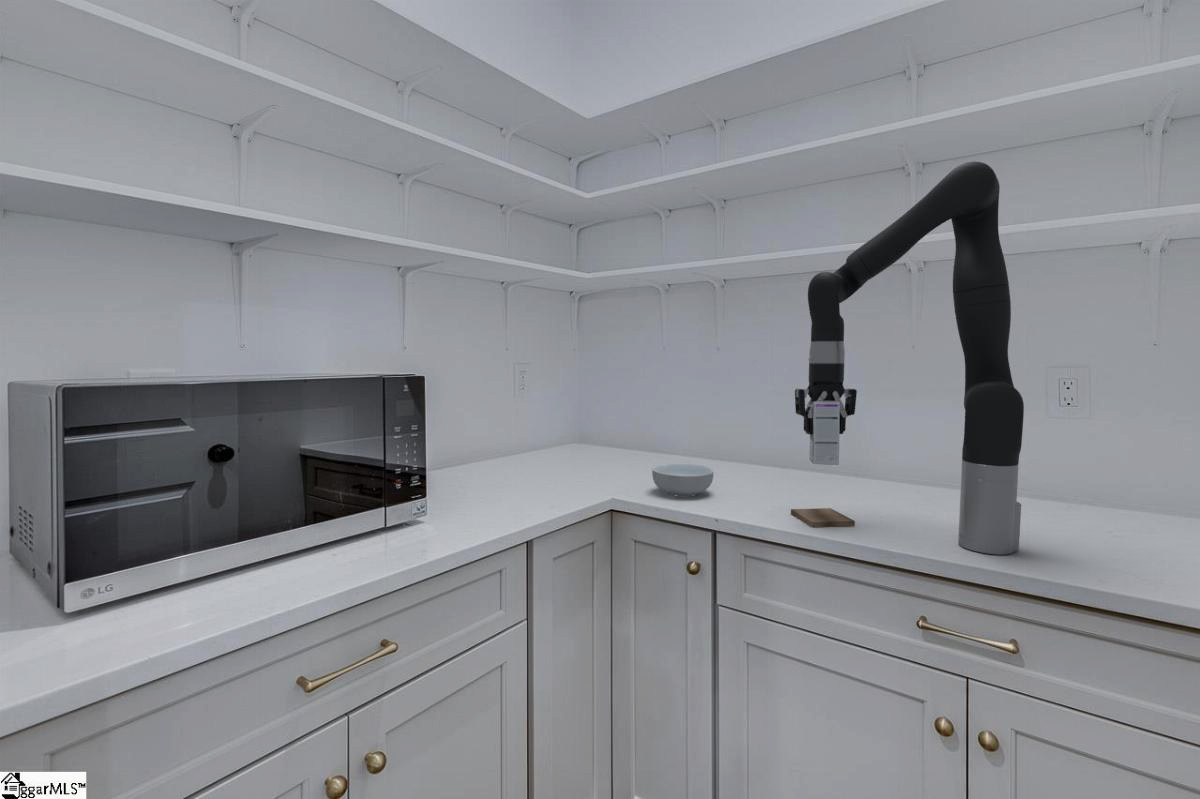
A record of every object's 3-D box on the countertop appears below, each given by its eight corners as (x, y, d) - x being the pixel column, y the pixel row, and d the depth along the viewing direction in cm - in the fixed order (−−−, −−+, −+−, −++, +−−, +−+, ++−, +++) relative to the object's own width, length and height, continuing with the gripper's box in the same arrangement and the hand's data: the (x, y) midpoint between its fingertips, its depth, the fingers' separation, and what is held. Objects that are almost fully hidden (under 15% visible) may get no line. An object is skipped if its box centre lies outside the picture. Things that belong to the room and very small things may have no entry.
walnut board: (830, 512, 140) (830, 508, 139) (854, 526, 129) (854, 520, 129) (790, 514, 139) (790, 509, 138) (812, 527, 128) (812, 522, 128)
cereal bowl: (639, 493, 161) (639, 468, 160) (678, 484, 172) (678, 460, 171) (687, 504, 148) (687, 477, 147) (725, 494, 159) (725, 469, 159)
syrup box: (839, 465, 129) (841, 401, 128) (812, 464, 130) (813, 400, 129) (834, 460, 135) (836, 399, 134) (808, 460, 136) (809, 399, 135)
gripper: (803, 361, 126) (801, 436, 128) (865, 361, 128) (863, 435, 129) (789, 361, 134) (787, 432, 135) (847, 361, 135) (845, 431, 136)
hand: (824, 433), depth 132 cm, fingers closed on syrup box, 6 cm apart
